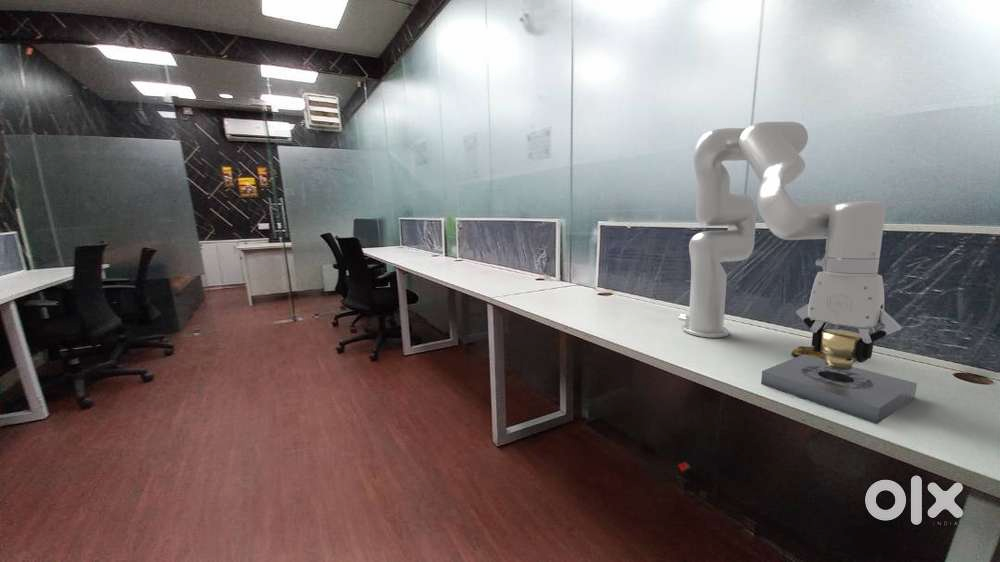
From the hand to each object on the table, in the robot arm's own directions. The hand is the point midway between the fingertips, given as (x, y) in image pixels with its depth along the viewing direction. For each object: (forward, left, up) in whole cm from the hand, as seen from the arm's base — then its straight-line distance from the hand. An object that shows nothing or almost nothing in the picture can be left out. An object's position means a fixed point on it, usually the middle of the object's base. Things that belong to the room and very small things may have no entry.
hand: (839, 354), depth 71 cm
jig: (0, 0, -8) cm, 8 cm away
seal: (-10, +21, -8) cm, 24 cm away
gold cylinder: (0, 0, -2) cm, 2 cm away
